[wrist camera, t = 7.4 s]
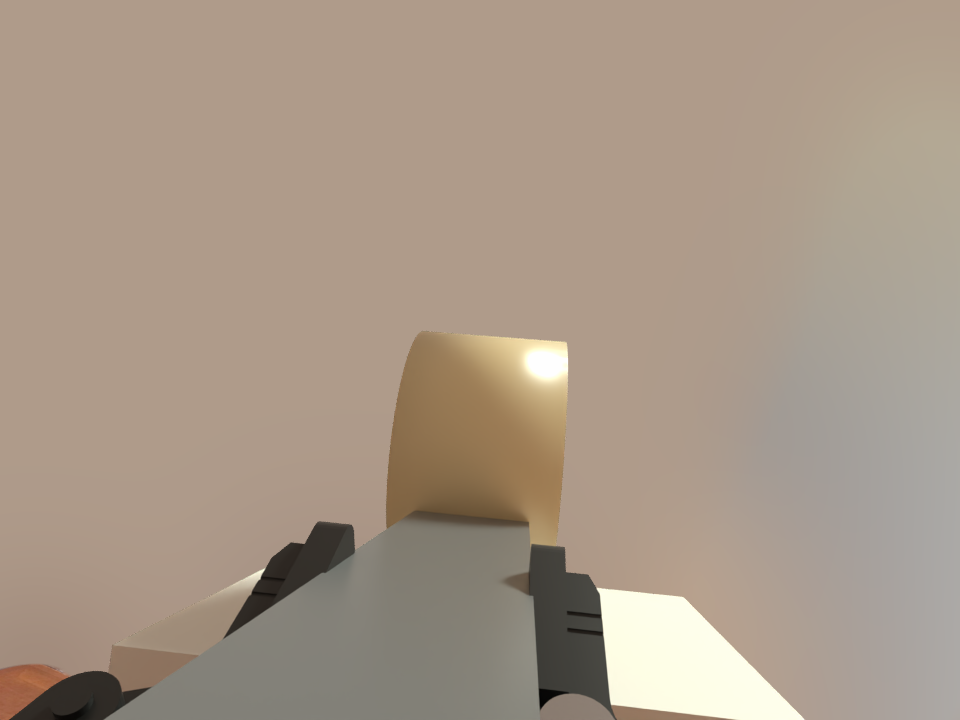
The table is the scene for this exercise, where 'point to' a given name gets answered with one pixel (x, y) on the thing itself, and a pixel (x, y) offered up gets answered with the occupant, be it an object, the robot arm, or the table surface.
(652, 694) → the tall box
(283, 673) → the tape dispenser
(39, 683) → the table surface
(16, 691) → the table surface
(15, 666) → the table surface
